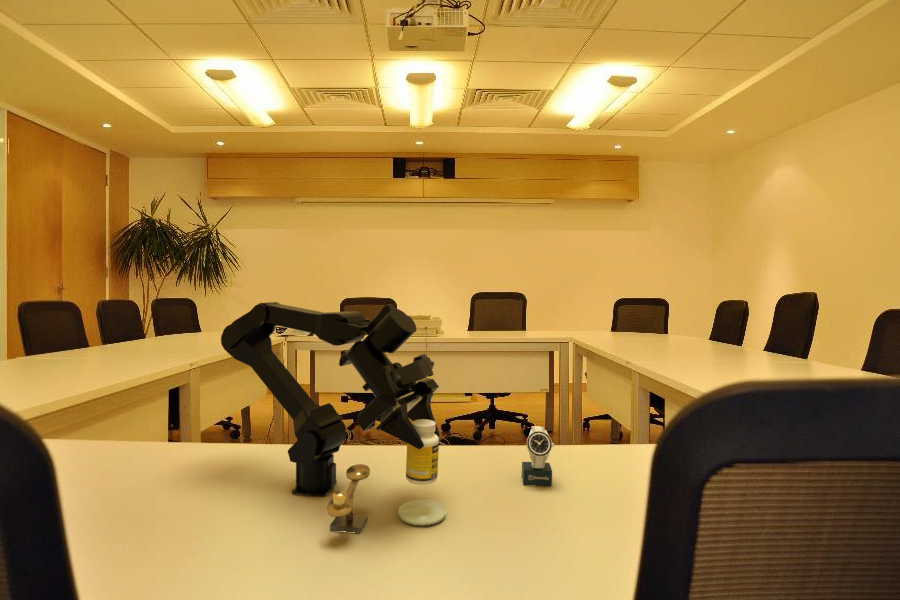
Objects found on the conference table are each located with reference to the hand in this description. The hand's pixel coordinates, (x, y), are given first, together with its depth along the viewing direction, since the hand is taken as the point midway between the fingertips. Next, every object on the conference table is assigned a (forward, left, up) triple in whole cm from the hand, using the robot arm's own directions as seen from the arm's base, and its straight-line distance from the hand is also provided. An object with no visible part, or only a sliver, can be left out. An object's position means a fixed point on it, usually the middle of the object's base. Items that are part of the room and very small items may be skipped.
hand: (430, 442), depth 85 cm
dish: (-1, 0, -13) cm, 13 cm away
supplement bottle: (-1, 0, -7) cm, 7 cm away
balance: (-12, -5, -13) cm, 18 cm away
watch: (+19, +18, -13) cm, 29 cm away
